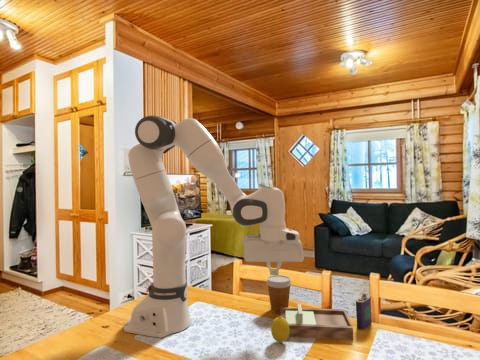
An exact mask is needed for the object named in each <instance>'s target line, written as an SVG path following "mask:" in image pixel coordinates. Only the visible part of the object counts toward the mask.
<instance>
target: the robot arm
mask: <svg viewBox="0 0 480 360" xmlns="http://www.w3.org/2000/svg"><path fill="white" fill-rule="evenodd" d="M134 135H135V137H136V138H135V139H136V140H137V142H138V143H139V144H136V145H134V146H133V147H131V148H130V150H129V151H128V162H129V167H130V171H131V172H130V173H131V176H132V179H133V181H134V185H135V187H136V189H137V192H138V195H139V198H140V201H141V204H142V205H143V208H144V210H145V213H146V215H147V218H148V220H149V223H150V226H151V239H152V241H151V243H152V248H151V249H152V279H153V280H152V282H151V284H150V285H148V287H147V288H146V291H145V292H146V293H148V295H146V296H145V297H144V298H143V299H142V300H141V301H139V302H138V303H137V304H136V305H135V306H134V307H133V309H132V312H131V314H130V315H131V316H130V318H128V320H127V321H126V322H125V323H124V326H123V332H125V333H131V334H136V335H141V336H142V335H143V336H148V337H154V338H159V339H161V338H164V337H166V336H168V335H171V334H175V333H178V332H181V331H183V330H185V329H187V328H188V327H190V325H191V324H192V319H191V315H190V312H189V305H188V295H189V294H188V293H189V291H188V290H189V289H188V281H187V280H186V278H187V277H186V275H187V273H186V271H187V270H186V268H187V267H186V252H187V225H186V223H185V221H184V219H183V217H182V215H181V212H180V210H179V207H178V203H177V200H176V197H175V193H174V190H173V188H172V184H171V182H170V178H169V175H168V173H167V170H166V167H165V165H164V162H163V158H162V157H163V154H167V153H168V152H169V151H170V150H172V149H174V148H175V147H177V148H179V149H180V150H181V151H182V153H183V154H184V156H185V157H186V158H187V161H189V162H190V164H192V166H194V168H195V169H196V170H197V171H198V172H199V173H200V174H202V175H203V176H204V177H206V178H207V179H209V180H211V181H212V182H213V183H214V184H215V186H216V187H217V188H218V189H219V191H220V192H221V194H222V195H223V196H224V198H225V199H226V201H227V202H228V204H229V208H230V213H231V215H232V217H233V219H234V220H235V222H236V223H237V224H239V225H241V226H243V227H245V226H246V227H250V226H253V225H258V224H259V233H254V234H253V233H248V234H246V235H244V236H243V238H242V246H244V251H243V260H244V261H245V262H246V263H247V262H248V263H266V267H267V268H268V270H269V276H273V275H280V274H279V270H280V269H281V267H282V265H283V263H302V262H303V261H304V260H305V254H304V248H303V243H302V241H301V240H300V233H299V232H298V231H297V230H294V229H290V228H287V227H286V225H287V224H286V220H285V216H286V201H285V195H284V193H283V190H281V189H280V188H278V187H275V186H267V185H266V186H265V185H263V186H260V188H258V189H257V190H255V191H254V192H252V193H250V194H248V195H247V194H246V193H245V192H244V191H242V189H241V188H240V187H239V185H238V184H237V182H236V181H235V180H234V178H233V177H232V175H231V174H230V172H229V170H228V167H227V163H226V160H225V159H226V158H225V156H224V154H223V151H222V149H221V147H220V146H219V144H218V143H217V141H216V139H215V138H214V137H213V135H212V134H211V133H210V132H209V130H207V128H205V127H204V125H203V124H202V123H200V122H199V121H198V120H197V119H196V118H193V117H188V118H185V119H183V120H181V121H179V122H178V123H177V122H176V121H174V120H172V119H169V118H168V117H166V116H165V117H164V116H157V115H148V116H144V117H142V118H141V119H140V120H138V121H137V123H136V124H135V128H134ZM272 263H276V264H277V266H276V268H272V266H271V264H272Z"/></svg>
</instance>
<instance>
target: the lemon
mask: <svg viewBox="0 0 480 360" xmlns="http://www.w3.org/2000/svg"><path fill="white" fill-rule="evenodd" d="M270 327H271V328H270V332H271V336H272V338H273V339H274V340H275V341H276V342H278V343H279V344H282V343H284V342H286V341H287V340H288V339H289V338H290V337H289V332H290V329H289V325H288V322H287V320H286V319H284V318H283V317H281V315H280V316H277V317H275V318H273V320H272V322H271V326H270Z"/></svg>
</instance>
